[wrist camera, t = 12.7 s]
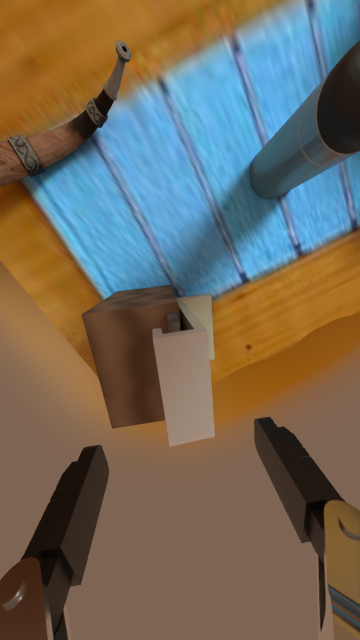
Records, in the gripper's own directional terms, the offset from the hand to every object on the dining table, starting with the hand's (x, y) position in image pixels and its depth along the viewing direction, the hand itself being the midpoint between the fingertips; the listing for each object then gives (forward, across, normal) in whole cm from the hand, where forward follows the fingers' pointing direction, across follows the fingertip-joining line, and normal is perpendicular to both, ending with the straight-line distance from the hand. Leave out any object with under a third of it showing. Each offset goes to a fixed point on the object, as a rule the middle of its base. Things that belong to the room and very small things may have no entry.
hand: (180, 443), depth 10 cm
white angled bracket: (+30, -2, +5) cm, 31 cm away
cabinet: (+36, +5, +5) cm, 37 cm away
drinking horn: (+36, +14, -31) cm, 50 cm away
